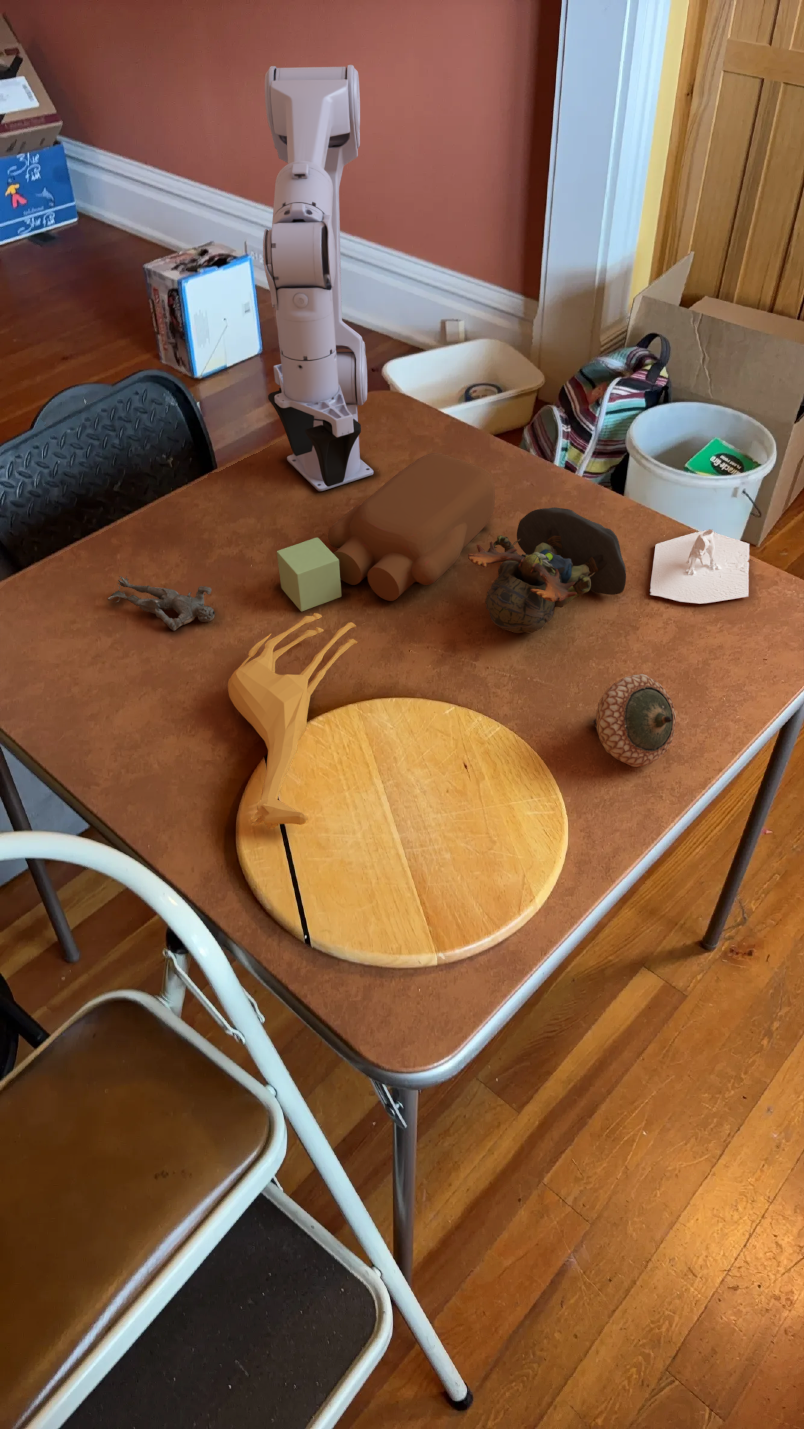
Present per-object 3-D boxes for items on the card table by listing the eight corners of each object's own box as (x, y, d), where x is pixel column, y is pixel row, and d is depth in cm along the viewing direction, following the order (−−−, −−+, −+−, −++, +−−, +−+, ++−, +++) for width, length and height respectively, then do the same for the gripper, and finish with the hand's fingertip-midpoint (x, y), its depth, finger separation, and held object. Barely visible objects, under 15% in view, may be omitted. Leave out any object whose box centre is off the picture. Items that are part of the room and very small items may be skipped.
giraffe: (426, 640, 96) (288, 823, 81) (426, 673, 99) (294, 855, 84) (283, 594, 102) (129, 757, 86) (288, 627, 105) (140, 790, 89)
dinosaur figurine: (673, 542, 119) (678, 491, 116) (775, 562, 113) (784, 509, 110) (622, 593, 109) (626, 538, 106) (731, 617, 103) (740, 560, 100)
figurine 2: (652, 534, 104) (568, 593, 92) (626, 610, 110) (544, 674, 98) (541, 485, 110) (448, 533, 98) (522, 559, 116) (433, 614, 104)
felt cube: (281, 588, 110) (276, 550, 106) (321, 573, 112) (317, 536, 108) (301, 612, 107) (296, 574, 103) (341, 596, 109) (339, 559, 105)
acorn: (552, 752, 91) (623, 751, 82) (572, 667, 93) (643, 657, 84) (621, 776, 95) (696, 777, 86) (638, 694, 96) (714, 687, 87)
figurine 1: (123, 558, 108) (216, 575, 104) (139, 580, 111) (229, 597, 107) (96, 602, 106) (190, 621, 101) (113, 624, 109) (205, 643, 105)
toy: (420, 623, 107) (517, 528, 117) (418, 566, 101) (519, 472, 112) (315, 576, 113) (416, 491, 124) (307, 521, 107) (413, 436, 118)
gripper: (242, 332, 104) (258, 449, 113) (304, 386, 95) (315, 508, 104) (302, 317, 106) (312, 432, 116) (369, 368, 97) (374, 488, 107)
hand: (318, 467), depth 110 cm, fingers open, 7 cm apart
